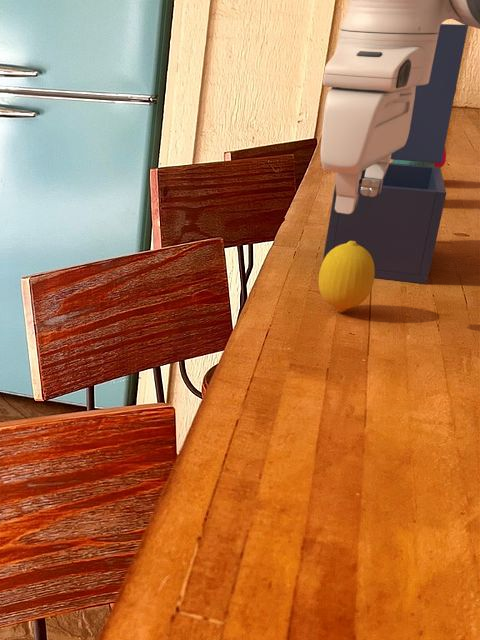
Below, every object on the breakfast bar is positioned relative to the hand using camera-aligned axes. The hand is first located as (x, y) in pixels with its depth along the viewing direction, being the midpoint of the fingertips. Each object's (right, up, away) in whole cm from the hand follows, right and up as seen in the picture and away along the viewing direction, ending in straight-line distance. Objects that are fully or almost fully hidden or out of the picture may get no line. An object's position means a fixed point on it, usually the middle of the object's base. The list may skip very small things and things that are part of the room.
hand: (357, 203), depth 92 cm
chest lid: (+15, +18, +22) cm, 32 cm away
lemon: (0, -11, +5) cm, 12 cm away
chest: (+11, -3, +22) cm, 25 cm away
